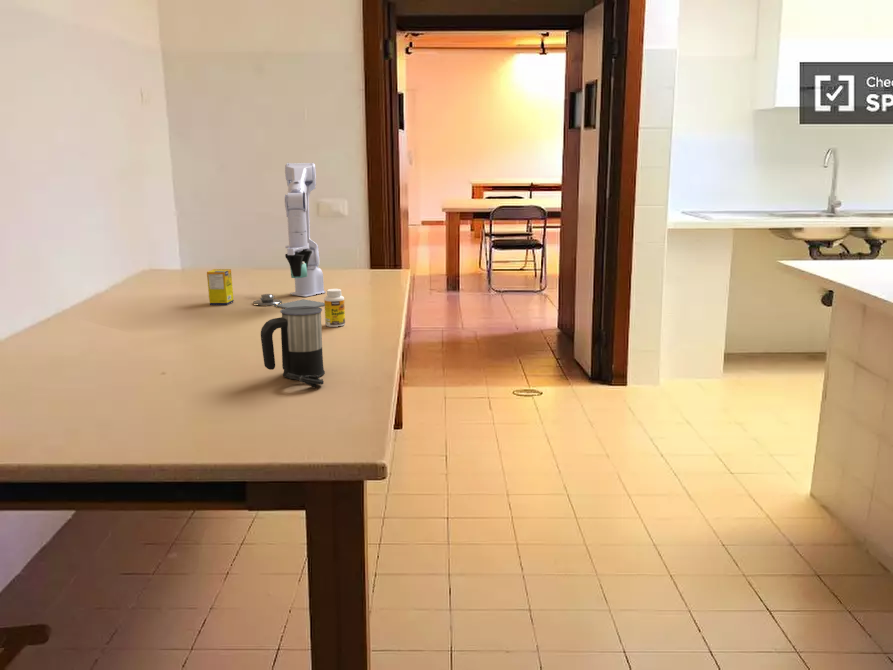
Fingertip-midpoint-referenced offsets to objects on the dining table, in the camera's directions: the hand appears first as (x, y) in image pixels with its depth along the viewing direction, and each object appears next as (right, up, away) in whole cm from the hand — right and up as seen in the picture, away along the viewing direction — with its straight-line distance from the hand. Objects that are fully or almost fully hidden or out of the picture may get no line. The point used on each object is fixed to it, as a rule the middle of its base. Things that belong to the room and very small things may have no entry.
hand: (299, 275), depth 250 cm
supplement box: (-27, -9, +8) cm, 29 cm away
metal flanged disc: (-12, -9, +7) cm, 16 cm away
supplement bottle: (+15, -16, -25) cm, 33 cm away
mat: (0, -10, +2) cm, 10 cm away
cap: (0, -1, 0) cm, 1 cm away
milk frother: (+15, -29, -76) cm, 83 cm away
